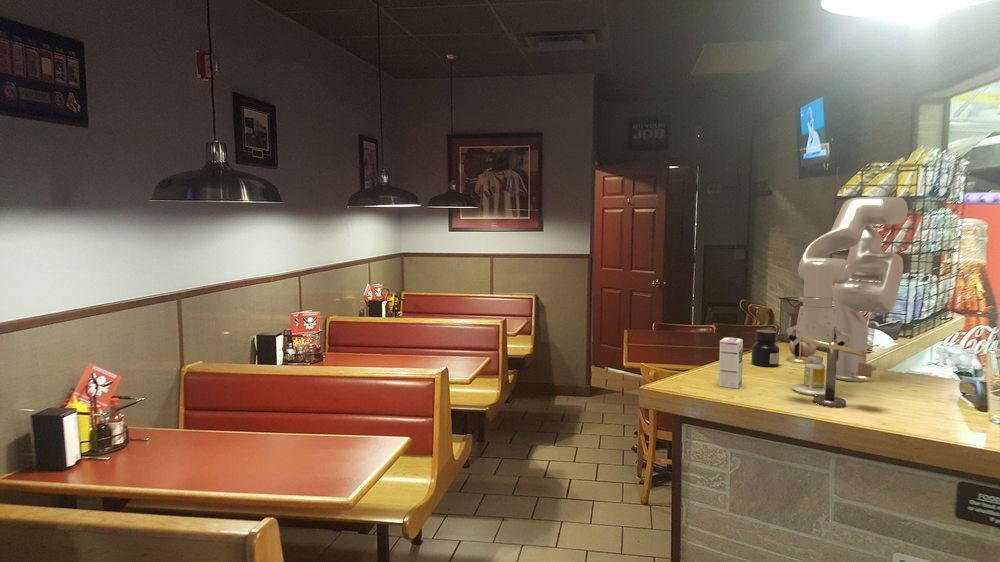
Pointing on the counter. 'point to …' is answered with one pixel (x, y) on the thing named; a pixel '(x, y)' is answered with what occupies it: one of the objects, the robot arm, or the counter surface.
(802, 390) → the dish
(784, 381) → the counter surface
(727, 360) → the syrup box
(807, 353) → the decorative fruit
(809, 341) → the balance
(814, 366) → the supplement bottle
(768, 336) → the ink bottle
